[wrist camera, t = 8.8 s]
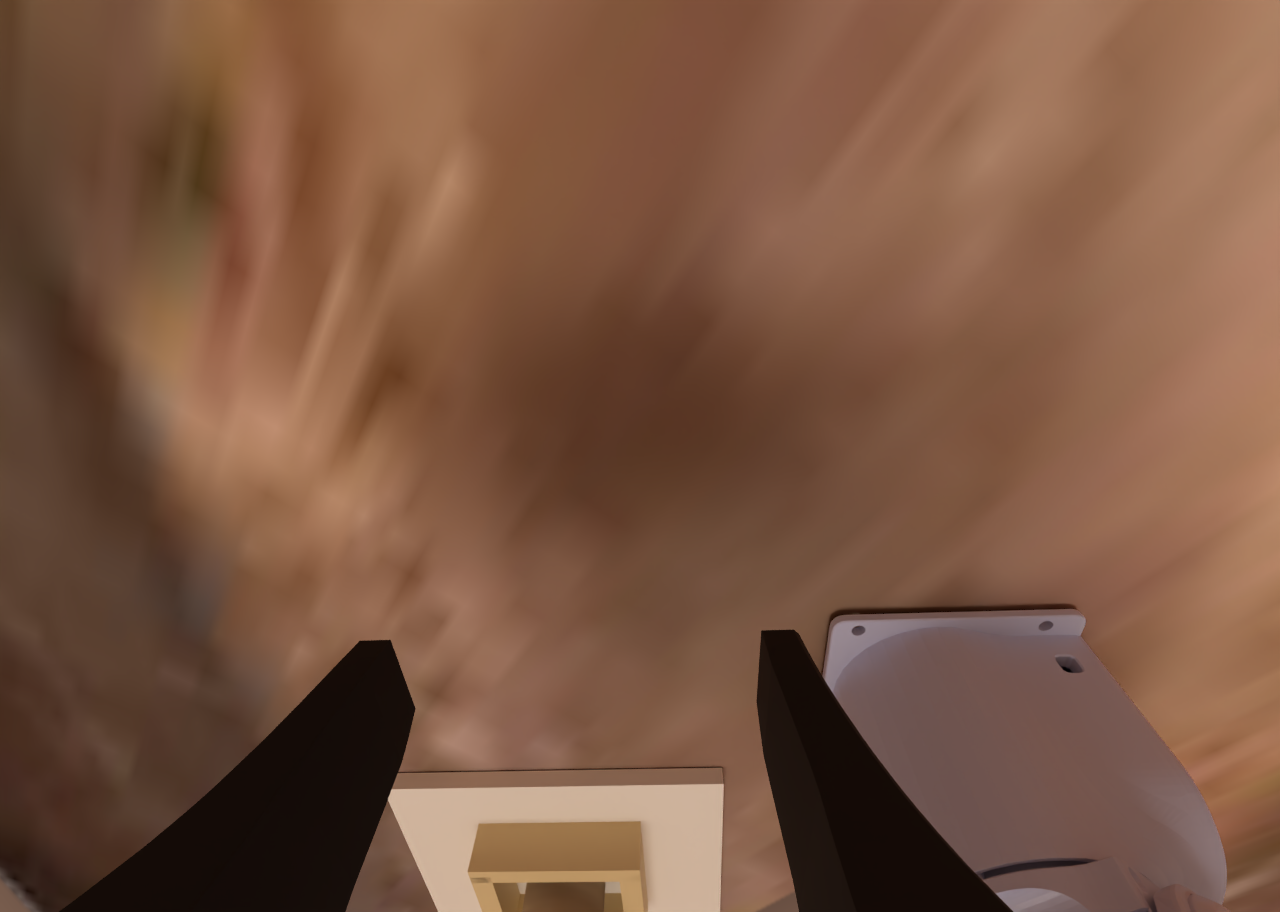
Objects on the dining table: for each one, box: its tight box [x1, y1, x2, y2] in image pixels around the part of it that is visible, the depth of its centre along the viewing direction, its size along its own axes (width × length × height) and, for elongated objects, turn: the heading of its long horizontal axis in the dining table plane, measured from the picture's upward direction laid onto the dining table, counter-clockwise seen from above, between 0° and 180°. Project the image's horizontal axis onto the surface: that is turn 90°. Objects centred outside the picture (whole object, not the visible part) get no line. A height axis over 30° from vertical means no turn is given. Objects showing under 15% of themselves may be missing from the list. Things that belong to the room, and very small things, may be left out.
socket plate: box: [388, 768, 724, 912], centre depth 32 cm, size 16×14×3 cm
